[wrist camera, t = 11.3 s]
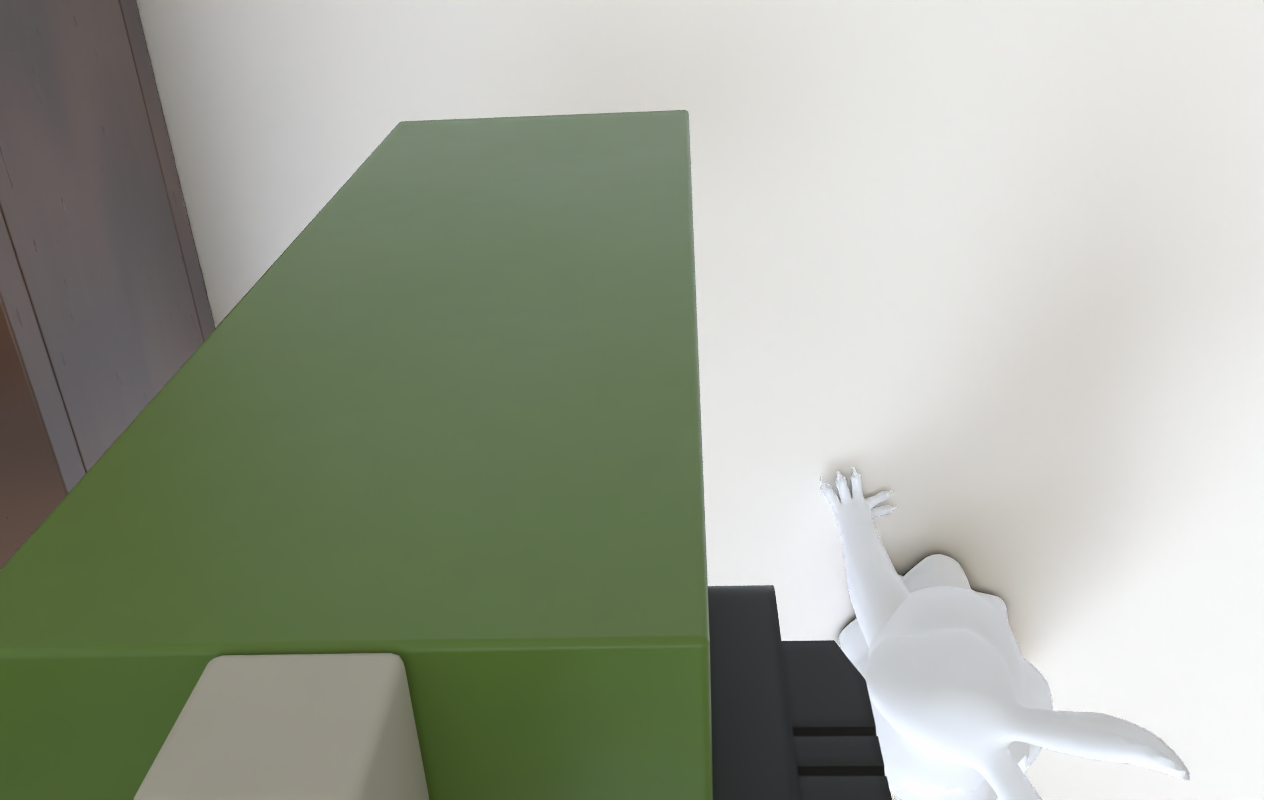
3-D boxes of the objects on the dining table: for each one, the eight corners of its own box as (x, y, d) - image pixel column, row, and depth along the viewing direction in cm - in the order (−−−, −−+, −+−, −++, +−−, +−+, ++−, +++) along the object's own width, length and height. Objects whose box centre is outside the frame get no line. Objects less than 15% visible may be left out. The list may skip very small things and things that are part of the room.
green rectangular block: (699, 534, 18) (728, 1516, 8) (460, 539, 19) (174, 1500, 8) (688, 109, 15) (717, 802, 5) (399, 121, 15) (-222, 809, 5)
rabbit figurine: (817, 466, 33) (867, 692, 25) (1075, 440, 33) (1219, 663, 24) (838, 758, 39) (885, 1026, 30) (1060, 742, 38) (1172, 1010, 30)
